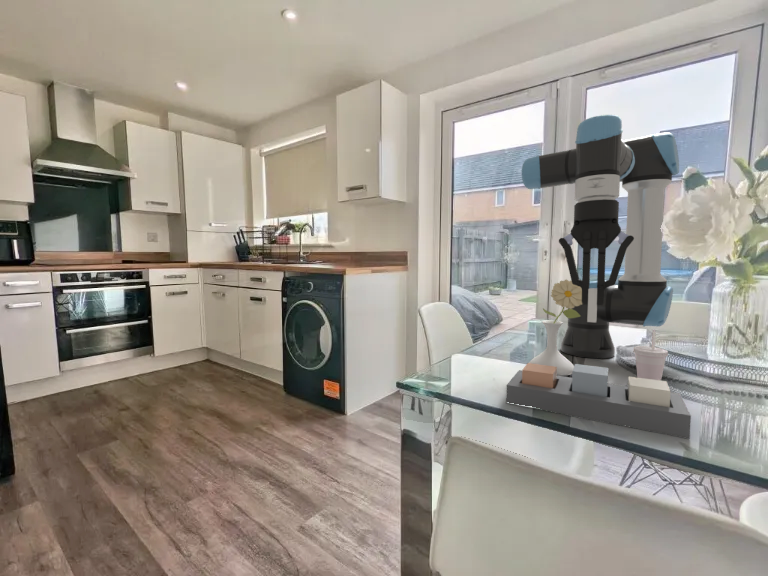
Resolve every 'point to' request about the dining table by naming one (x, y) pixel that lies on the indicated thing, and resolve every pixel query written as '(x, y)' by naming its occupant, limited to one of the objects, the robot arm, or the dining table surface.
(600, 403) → the console
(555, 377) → the key terracotta
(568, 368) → the flower in vase
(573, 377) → the key slate
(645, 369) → the smoothie
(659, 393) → the key cream
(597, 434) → the dining table surface
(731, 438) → the dining table surface
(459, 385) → the dining table surface
